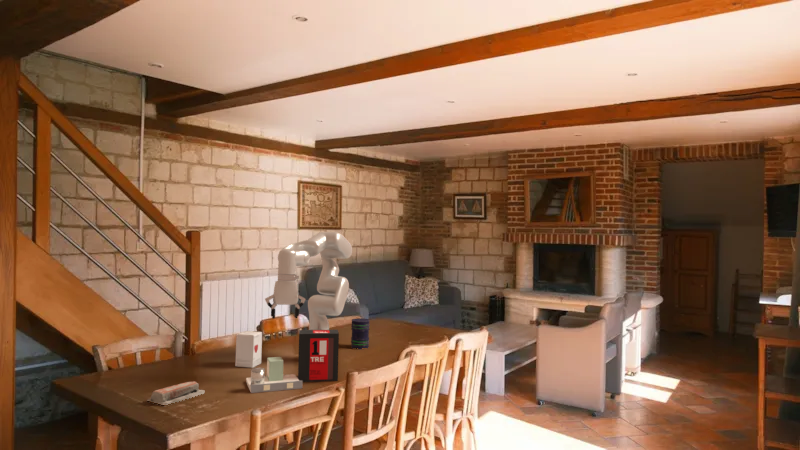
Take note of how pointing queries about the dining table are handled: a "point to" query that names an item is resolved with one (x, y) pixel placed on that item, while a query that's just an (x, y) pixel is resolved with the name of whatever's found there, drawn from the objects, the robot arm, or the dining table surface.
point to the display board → (276, 384)
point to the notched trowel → (176, 393)
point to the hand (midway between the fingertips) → (284, 318)
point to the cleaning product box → (318, 355)
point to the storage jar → (360, 333)
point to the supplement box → (248, 349)
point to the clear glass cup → (257, 376)
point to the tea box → (275, 368)
